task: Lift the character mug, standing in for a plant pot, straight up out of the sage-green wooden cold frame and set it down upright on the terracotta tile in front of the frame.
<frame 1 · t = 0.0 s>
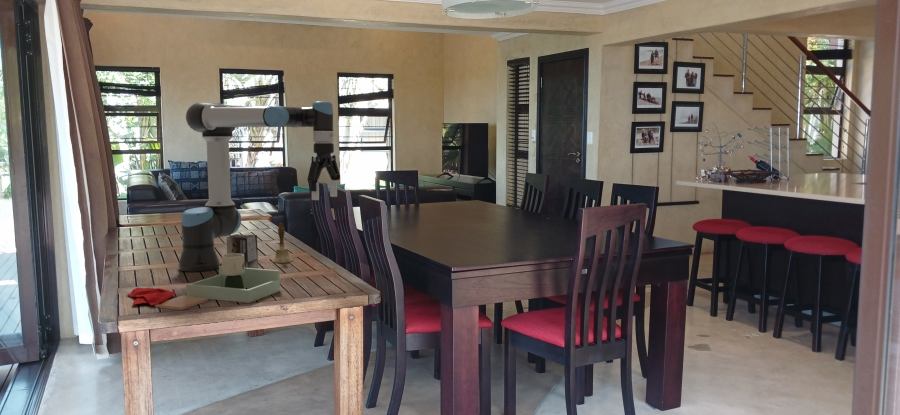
hand: (324, 198, 258), 28 cm above the table, fingers open, 13 cm apart
character mug: (234, 294, 223), resting in cold frame
terracotta tile: (182, 303, 210), on the table
hand bell: (282, 261, 279), on the table
cloth: (152, 297, 217), on the table, touching terracotta tile
coffee box: (243, 279, 245), on the table
cold frame: (234, 293, 223), on the table
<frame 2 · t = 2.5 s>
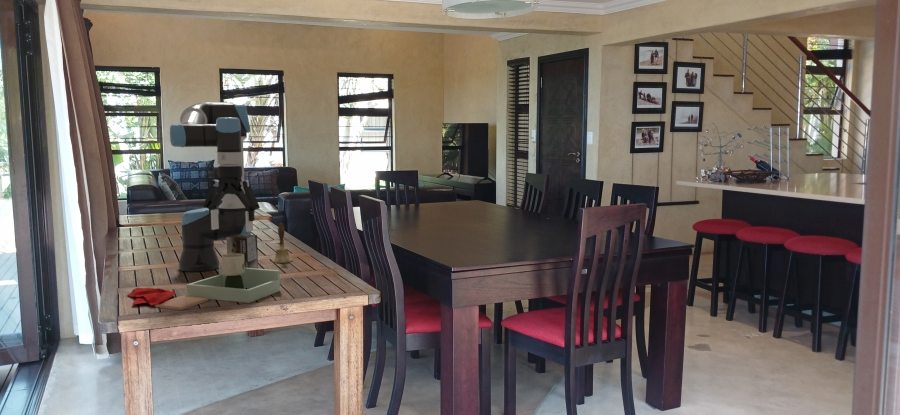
hand: (232, 230, 220), 21 cm above the table, fingers open, 13 cm apart
nothing on the table moved.
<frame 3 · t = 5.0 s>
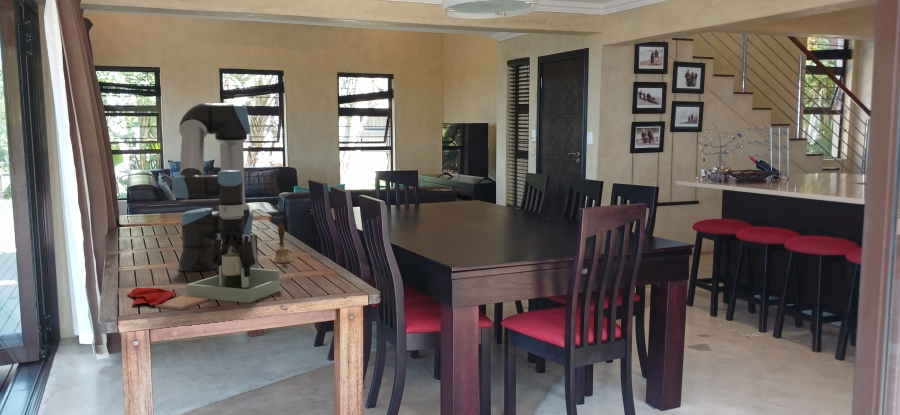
hand: (234, 285, 222), 3 cm above the table, fingers closed on character mug, 8 cm apart
character mug: (234, 294, 223), resting in cold frame, touching gripper
everything else where it was.
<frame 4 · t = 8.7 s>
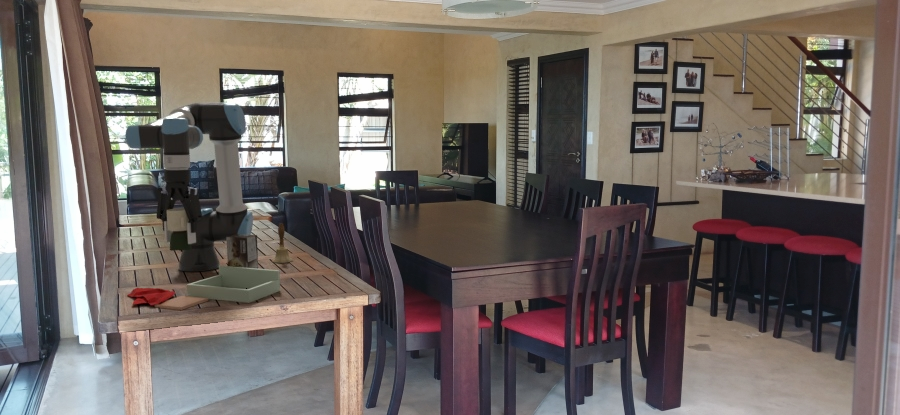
hand: (180, 242, 208), 19 cm above the table, fingers closed on character mug, 8 cm apart
character mug: (180, 251, 208), point 16 cm above the table, touching gripper
everything else where it was.
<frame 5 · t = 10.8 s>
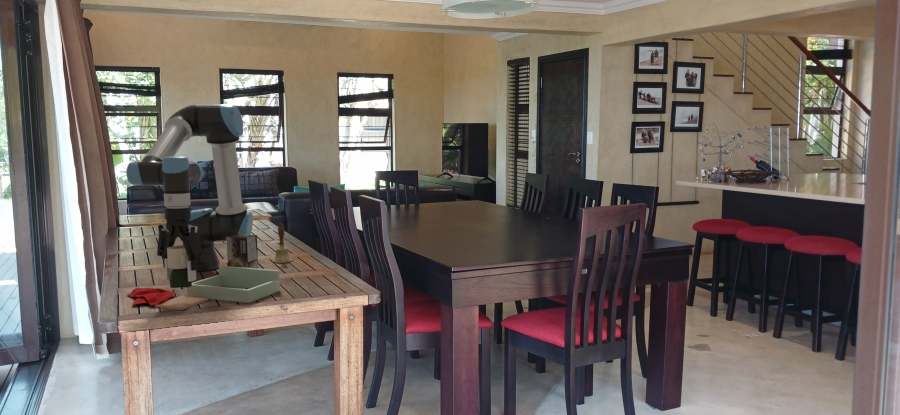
hand: (180, 279, 209), 8 cm above the table, fingers closed on character mug, 8 cm apart
character mug: (181, 288, 209), point 5 cm above the table, touching gripper
everything else where it was.
when the fingers open (5 cm above the table, at t = 12.3 s): character mug drops 1 cm, resting on terracotta tile.
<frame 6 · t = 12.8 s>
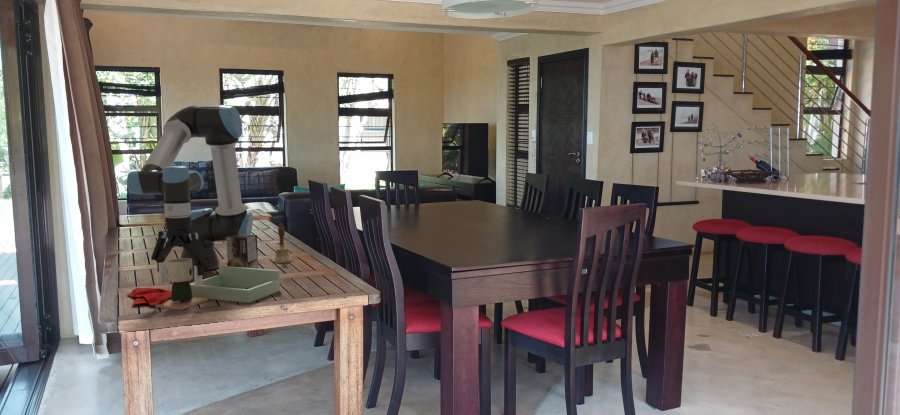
hand: (181, 284, 209), 6 cm above the table, fingers open, 13 cm apart
character mug: (182, 301, 210), point 1 cm above the table, touching terracotta tile
everything else where it was.
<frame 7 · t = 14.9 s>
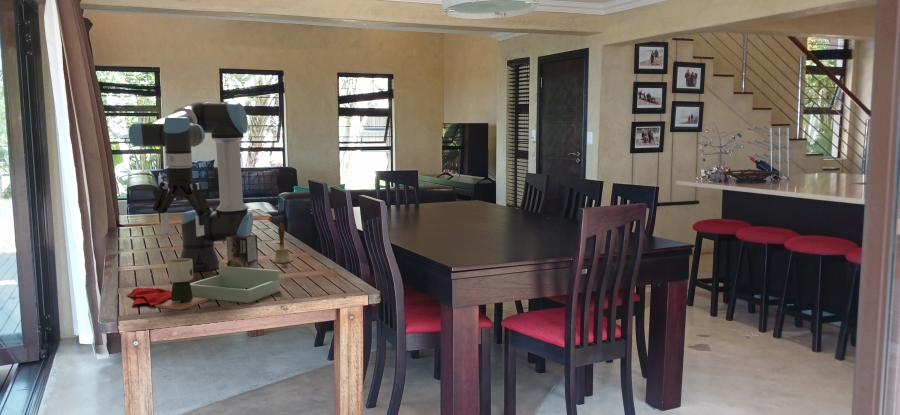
hand: (182, 234, 212), 21 cm above the table, fingers open, 13 cm apart
nothing on the table moved.
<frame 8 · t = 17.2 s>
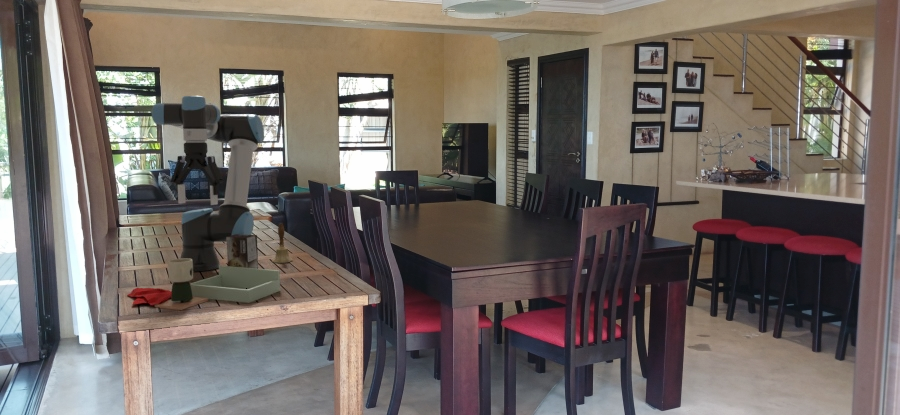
hand: (198, 204, 231), 29 cm above the table, fingers open, 13 cm apart
nothing on the table moved.
at the end: character mug inside the target area on the terracotta tile (0.1 cm from its centre), point 0.6 cm above the terracotta tile's base; character mug tilted 0°; the gripper is holding nothing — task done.
